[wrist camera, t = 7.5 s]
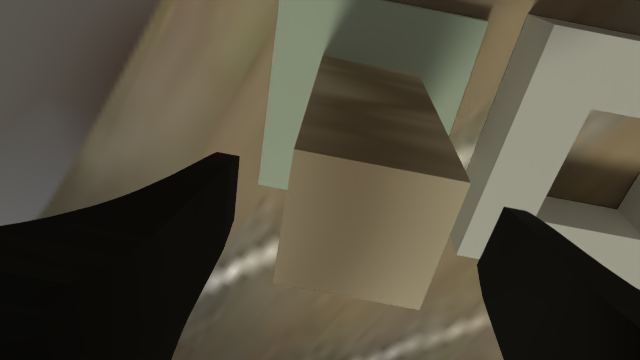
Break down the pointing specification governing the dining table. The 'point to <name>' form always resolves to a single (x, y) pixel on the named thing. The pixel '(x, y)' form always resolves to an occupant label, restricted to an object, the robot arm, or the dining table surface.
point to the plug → (369, 188)
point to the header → (554, 140)
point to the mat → (361, 60)
